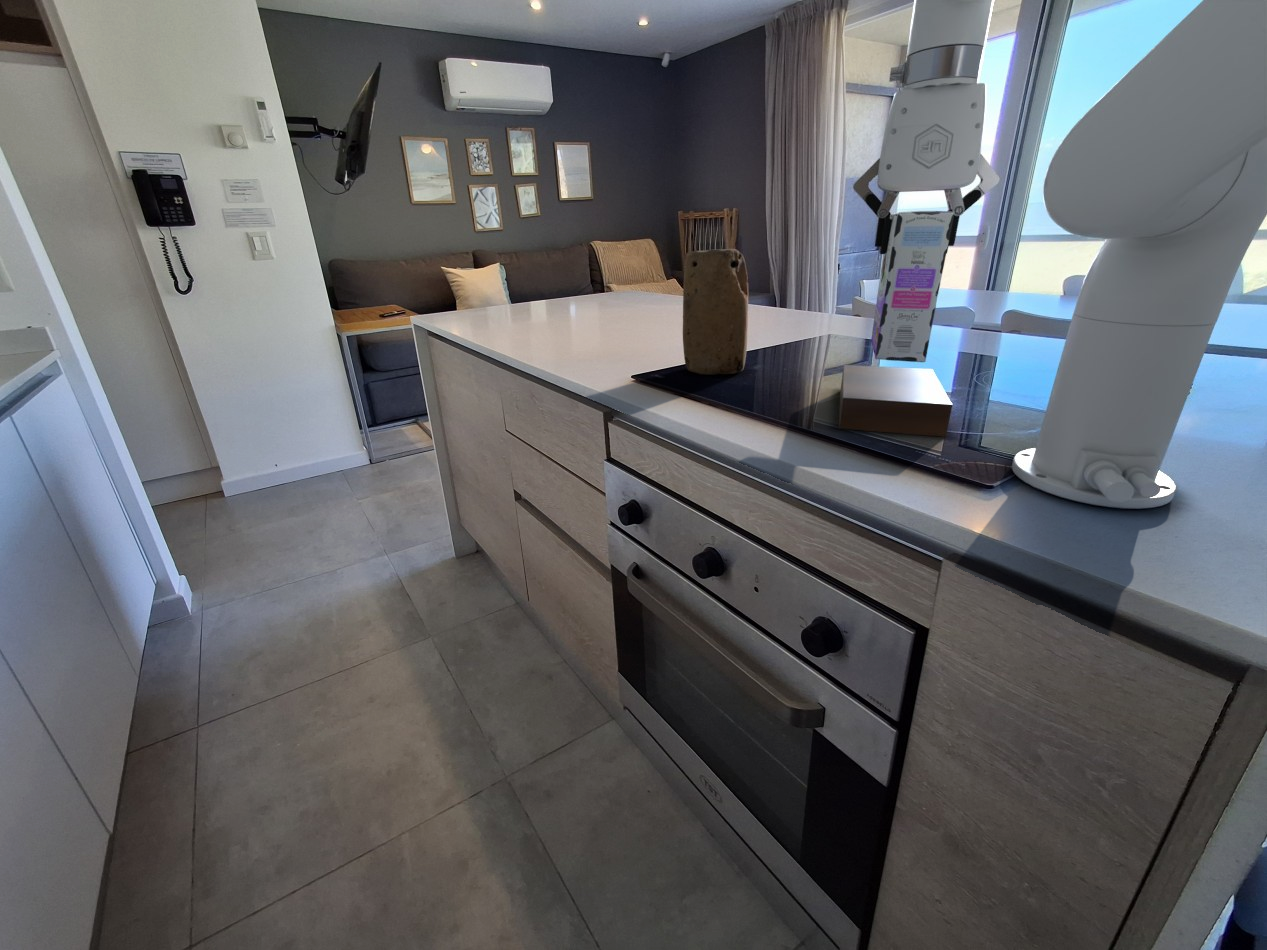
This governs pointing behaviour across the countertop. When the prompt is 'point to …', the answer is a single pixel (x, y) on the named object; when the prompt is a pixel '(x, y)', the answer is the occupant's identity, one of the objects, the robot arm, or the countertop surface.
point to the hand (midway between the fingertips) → (912, 251)
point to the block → (715, 311)
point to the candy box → (910, 284)
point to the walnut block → (893, 400)
